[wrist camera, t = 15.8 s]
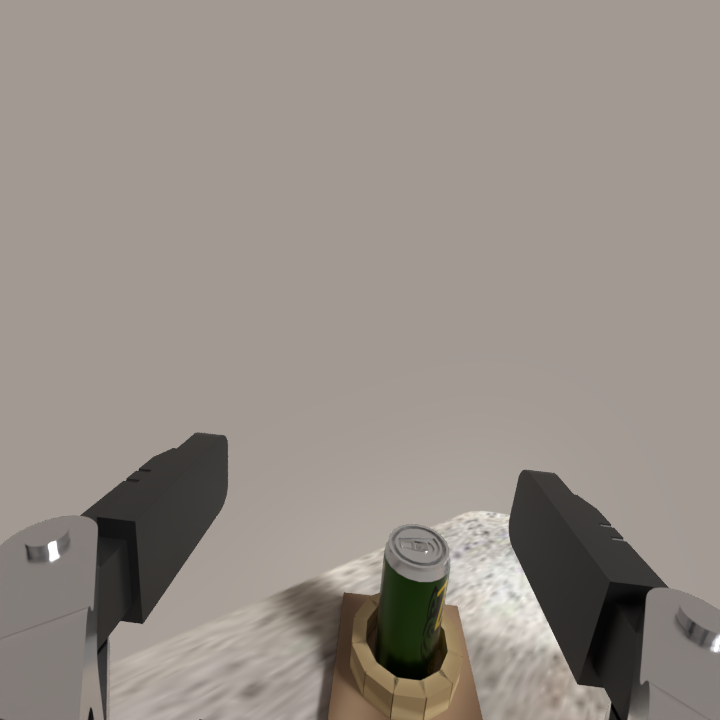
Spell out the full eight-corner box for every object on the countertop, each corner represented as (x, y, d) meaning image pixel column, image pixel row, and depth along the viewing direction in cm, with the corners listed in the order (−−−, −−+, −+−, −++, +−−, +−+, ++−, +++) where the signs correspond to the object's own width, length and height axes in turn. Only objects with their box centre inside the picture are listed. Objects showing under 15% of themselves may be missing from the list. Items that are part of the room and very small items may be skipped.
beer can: (371, 688, 29) (385, 565, 27) (374, 626, 34) (386, 518, 32) (437, 698, 29) (458, 575, 26) (430, 634, 34) (446, 526, 31)
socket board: (325, 741, 27) (328, 705, 26) (343, 600, 38) (345, 572, 37) (488, 764, 26) (496, 728, 25) (455, 613, 38) (460, 586, 37)
